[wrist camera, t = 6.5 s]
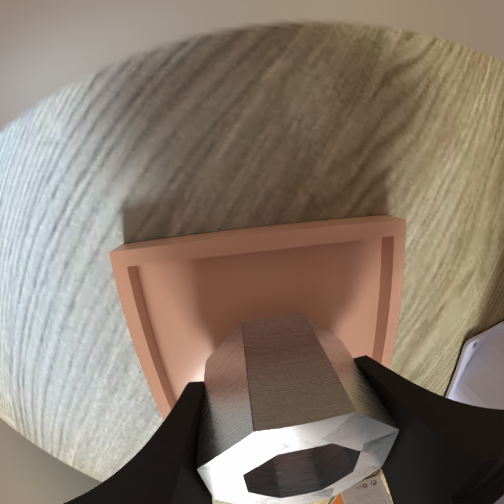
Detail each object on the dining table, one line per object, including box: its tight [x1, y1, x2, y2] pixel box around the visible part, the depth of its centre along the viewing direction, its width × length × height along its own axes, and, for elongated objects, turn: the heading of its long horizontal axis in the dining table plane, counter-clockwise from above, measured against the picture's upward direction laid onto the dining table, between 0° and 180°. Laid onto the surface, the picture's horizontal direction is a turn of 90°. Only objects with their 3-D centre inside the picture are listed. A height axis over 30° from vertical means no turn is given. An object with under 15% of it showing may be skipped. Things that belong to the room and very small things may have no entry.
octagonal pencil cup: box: [197, 313, 399, 504], centre depth 8 cm, size 5×5×5 cm
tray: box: [109, 215, 406, 420], centre depth 11 cm, size 11×11×2 cm
